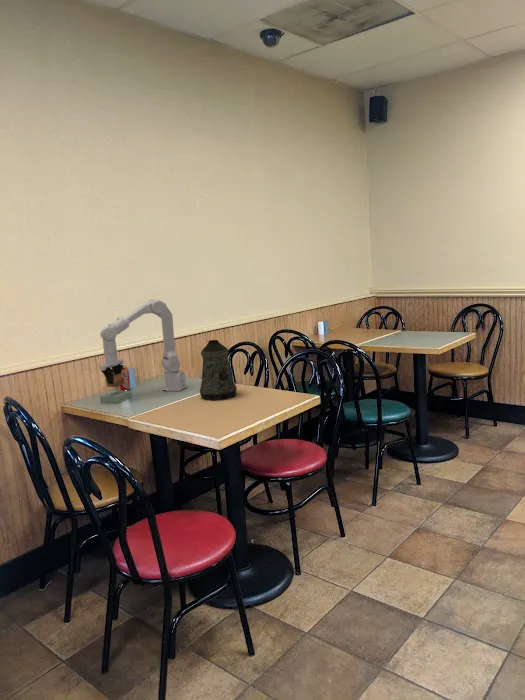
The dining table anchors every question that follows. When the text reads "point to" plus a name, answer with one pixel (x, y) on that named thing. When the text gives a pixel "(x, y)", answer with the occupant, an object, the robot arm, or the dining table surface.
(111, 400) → the sage green base
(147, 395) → the dining table surface
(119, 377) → the walnut block
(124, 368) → the soda can
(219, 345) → the beer stein
